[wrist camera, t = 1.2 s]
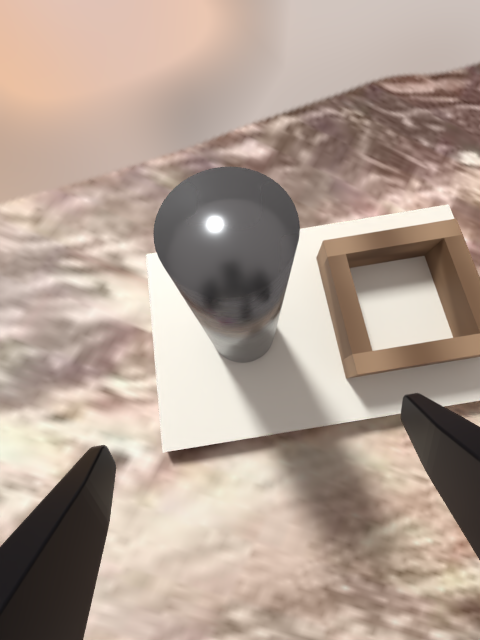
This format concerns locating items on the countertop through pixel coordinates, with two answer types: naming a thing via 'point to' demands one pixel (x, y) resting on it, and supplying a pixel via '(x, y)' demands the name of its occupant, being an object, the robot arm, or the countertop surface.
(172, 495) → the countertop surface
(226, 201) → the grey tall rounded cylinder
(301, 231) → the board
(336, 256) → the square wooden frame
